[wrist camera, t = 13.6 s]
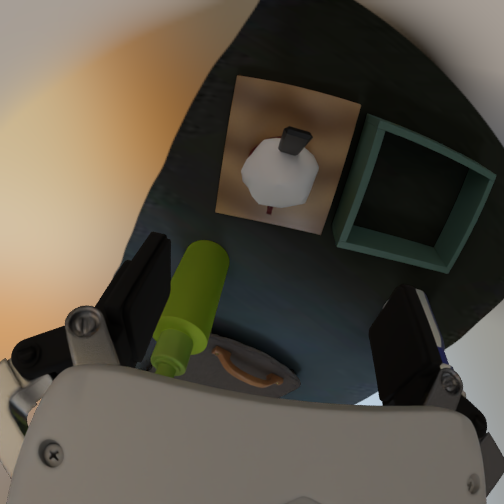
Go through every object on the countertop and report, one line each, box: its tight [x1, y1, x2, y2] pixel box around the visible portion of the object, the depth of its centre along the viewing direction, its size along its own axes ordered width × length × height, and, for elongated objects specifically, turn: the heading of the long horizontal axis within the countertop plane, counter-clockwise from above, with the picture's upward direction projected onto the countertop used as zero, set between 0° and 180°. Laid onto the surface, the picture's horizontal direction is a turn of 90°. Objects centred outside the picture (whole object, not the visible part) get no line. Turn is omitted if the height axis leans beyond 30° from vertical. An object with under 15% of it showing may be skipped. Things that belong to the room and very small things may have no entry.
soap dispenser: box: [150, 240, 229, 378], centre depth 29 cm, size 6×7×20 cm
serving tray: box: [148, 330, 301, 398], centre depth 53 cm, size 39×23×6 cm, turn 143°
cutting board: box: [215, 76, 361, 235], centre depth 28 cm, size 15×12×2 cm
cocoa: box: [241, 126, 319, 215], centre depth 23 cm, size 10×6×12 cm, turn 146°
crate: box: [331, 114, 496, 274], centre depth 27 cm, size 14×16×4 cm
